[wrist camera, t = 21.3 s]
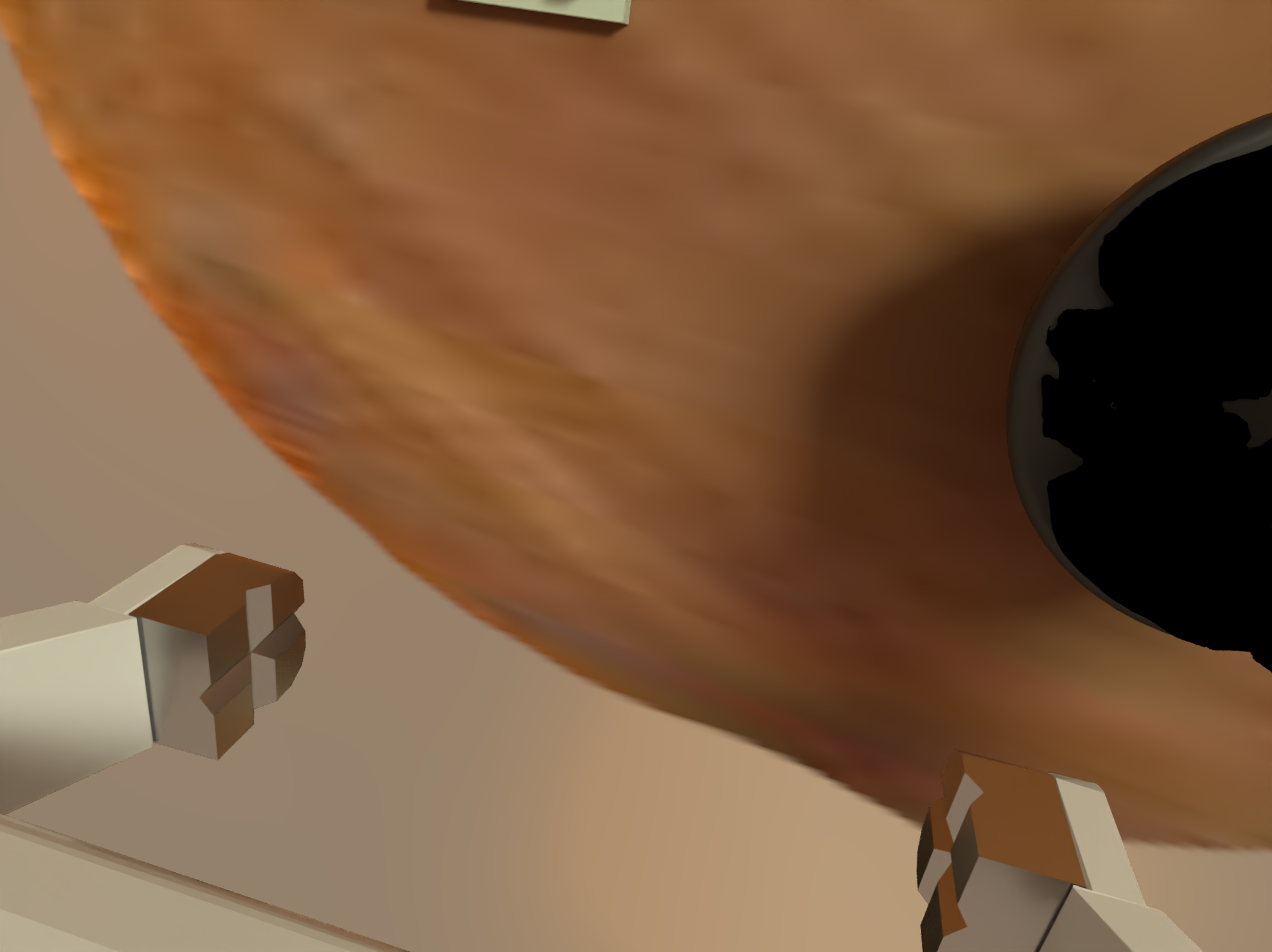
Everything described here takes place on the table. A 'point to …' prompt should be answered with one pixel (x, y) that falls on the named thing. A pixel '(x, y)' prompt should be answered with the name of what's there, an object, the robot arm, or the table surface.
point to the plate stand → (572, 8)
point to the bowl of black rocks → (1160, 399)
